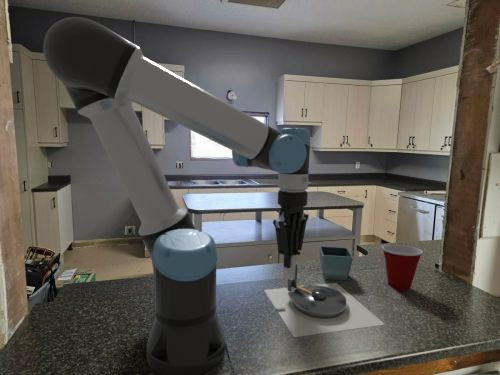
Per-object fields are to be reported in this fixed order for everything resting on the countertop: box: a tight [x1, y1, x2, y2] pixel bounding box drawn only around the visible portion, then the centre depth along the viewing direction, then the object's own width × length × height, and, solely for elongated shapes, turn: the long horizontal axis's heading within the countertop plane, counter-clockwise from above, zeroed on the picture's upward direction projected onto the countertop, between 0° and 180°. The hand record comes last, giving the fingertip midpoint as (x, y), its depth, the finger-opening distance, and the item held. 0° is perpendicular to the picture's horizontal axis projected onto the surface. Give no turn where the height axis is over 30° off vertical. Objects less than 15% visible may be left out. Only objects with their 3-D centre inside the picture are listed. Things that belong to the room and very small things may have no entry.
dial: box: [286, 263, 346, 319], centre depth 82 cm, size 17×13×8 cm
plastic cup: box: [381, 244, 424, 293], centre depth 94 cm, size 11×11×12 cm
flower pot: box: [319, 245, 354, 281], centre depth 99 cm, size 9×9×9 cm
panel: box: [263, 282, 385, 338], centre depth 81 cm, size 22×22×2 cm
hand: (289, 278), depth 86 cm, fingers closed
